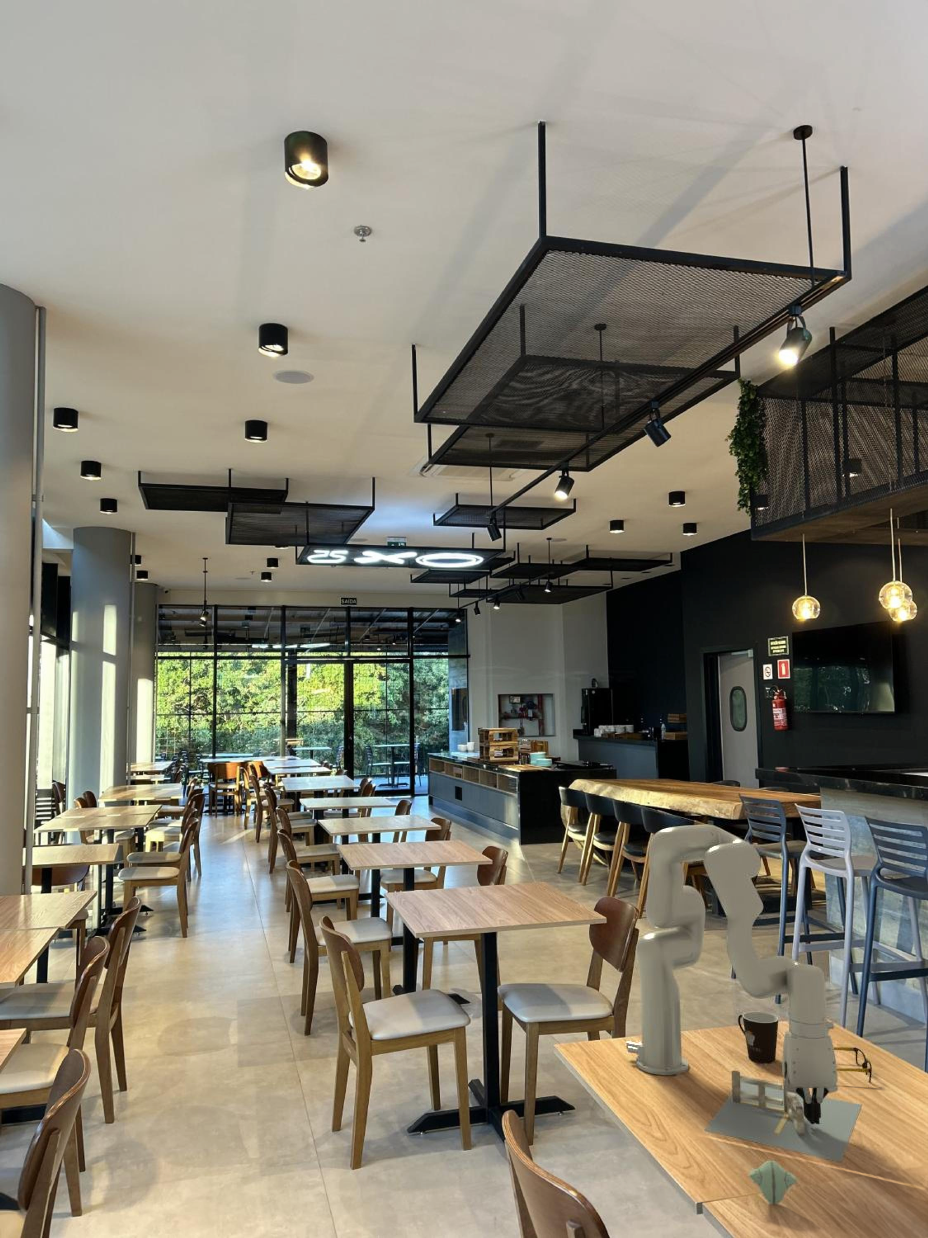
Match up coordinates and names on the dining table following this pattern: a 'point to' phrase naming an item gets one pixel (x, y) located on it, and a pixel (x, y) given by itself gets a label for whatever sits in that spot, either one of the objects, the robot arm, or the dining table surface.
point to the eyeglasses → (864, 1065)
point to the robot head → (772, 1181)
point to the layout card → (787, 1124)
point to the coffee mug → (760, 1036)
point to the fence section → (761, 1090)
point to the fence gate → (795, 1111)
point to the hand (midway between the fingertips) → (812, 1121)
